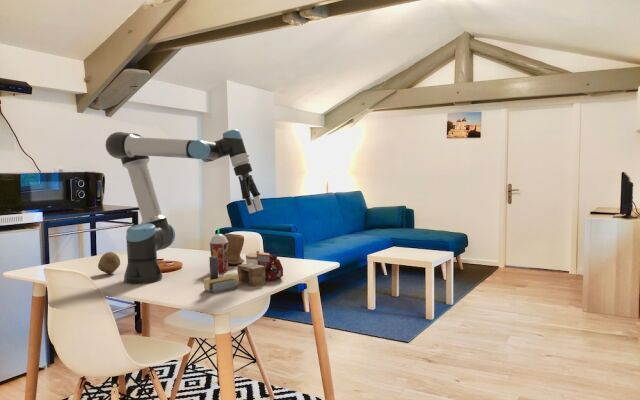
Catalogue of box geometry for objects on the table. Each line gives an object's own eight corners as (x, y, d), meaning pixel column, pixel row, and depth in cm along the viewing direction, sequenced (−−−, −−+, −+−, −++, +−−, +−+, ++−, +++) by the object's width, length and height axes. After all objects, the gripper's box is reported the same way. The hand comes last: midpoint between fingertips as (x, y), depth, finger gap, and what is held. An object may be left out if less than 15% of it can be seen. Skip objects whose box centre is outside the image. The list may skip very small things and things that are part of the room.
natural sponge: (124, 273, 211) (123, 251, 211) (104, 277, 205) (103, 254, 204) (115, 270, 217) (114, 249, 217) (96, 274, 211) (95, 252, 210)
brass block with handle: (204, 288, 175) (203, 257, 174) (234, 282, 184) (233, 253, 183) (208, 289, 172) (207, 259, 172) (238, 283, 181) (237, 254, 180)
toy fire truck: (277, 282, 187) (276, 257, 186) (252, 279, 193) (252, 255, 192) (286, 278, 193) (286, 254, 192) (262, 276, 199) (262, 252, 199)
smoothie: (233, 271, 210) (231, 227, 209) (217, 274, 204) (215, 229, 203) (222, 268, 216) (220, 226, 215) (207, 272, 210) (205, 228, 209)
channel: (204, 290, 177) (204, 281, 177) (227, 285, 184) (227, 276, 183) (213, 293, 172) (212, 284, 172) (236, 288, 179) (236, 279, 179)
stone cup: (250, 262, 230) (249, 232, 229) (234, 267, 220) (233, 235, 219) (226, 260, 237) (225, 231, 236) (210, 264, 227) (209, 234, 226)
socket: (238, 282, 189) (237, 265, 189) (250, 279, 193) (249, 262, 193) (252, 286, 181) (252, 268, 181) (265, 283, 185) (265, 266, 185)
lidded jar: (266, 274, 202) (265, 253, 201) (242, 274, 204) (242, 252, 204) (273, 269, 213) (272, 249, 212) (251, 268, 215) (250, 248, 214)
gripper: (241, 161, 188) (257, 211, 189) (256, 163, 213) (270, 207, 213) (224, 167, 189) (240, 216, 189) (241, 168, 214) (255, 211, 214)
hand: (256, 211), depth 201 cm, fingers open, 13 cm apart
